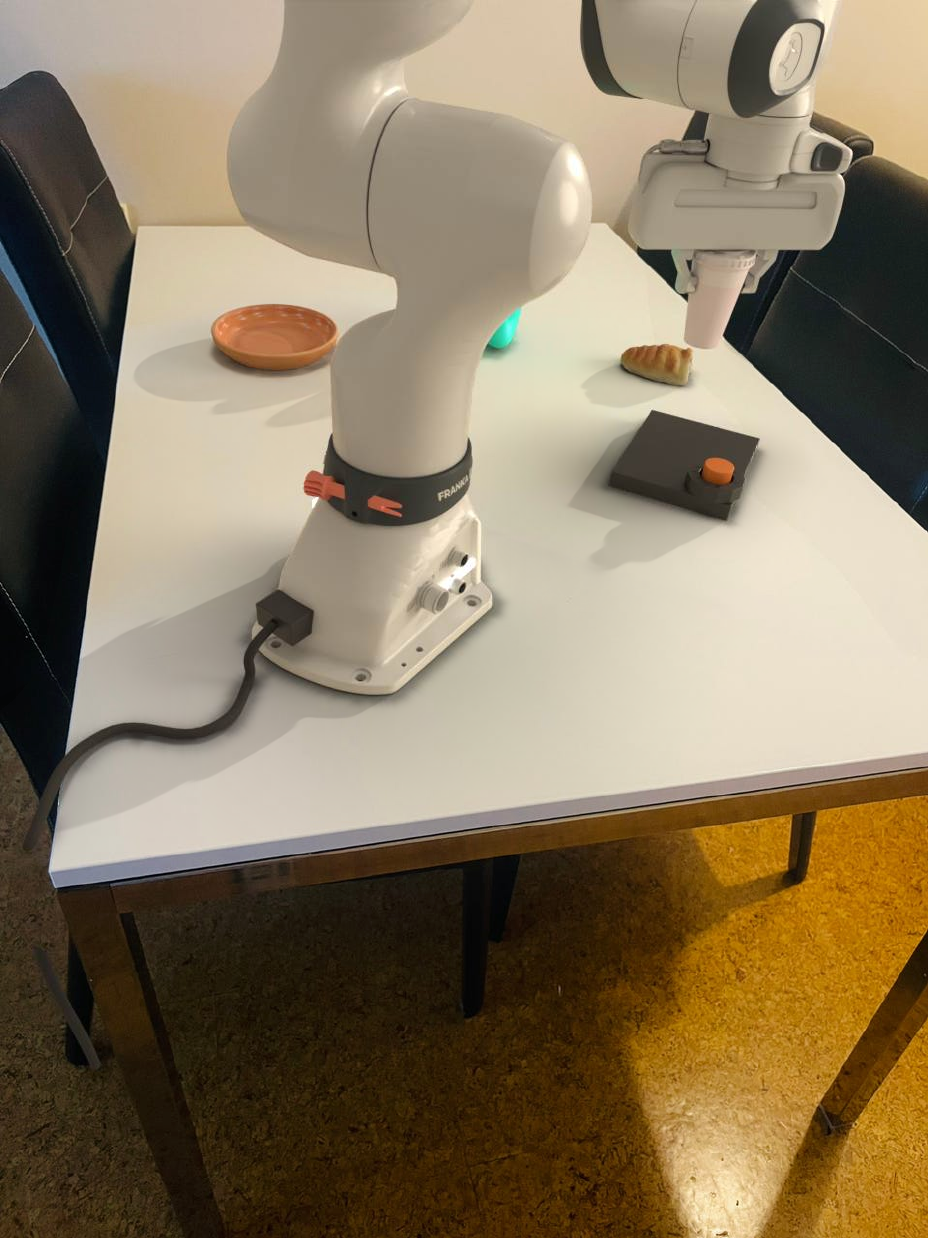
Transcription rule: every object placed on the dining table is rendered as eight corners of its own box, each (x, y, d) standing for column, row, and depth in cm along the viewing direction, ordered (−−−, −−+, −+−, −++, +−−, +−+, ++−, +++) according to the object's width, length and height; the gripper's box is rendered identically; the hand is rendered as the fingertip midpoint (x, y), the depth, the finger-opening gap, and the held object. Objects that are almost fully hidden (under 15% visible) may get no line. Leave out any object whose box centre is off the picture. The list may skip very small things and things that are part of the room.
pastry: (615, 375, 117) (621, 348, 114) (623, 355, 122) (628, 328, 119) (687, 389, 115) (694, 361, 113) (691, 368, 120) (698, 340, 118)
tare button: (726, 488, 92) (730, 475, 91) (698, 480, 92) (702, 467, 91) (733, 475, 94) (736, 462, 93) (705, 467, 95) (708, 454, 94)
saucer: (349, 330, 122) (348, 309, 120) (323, 383, 110) (322, 360, 108) (234, 318, 122) (232, 297, 120) (196, 370, 110) (193, 347, 108)
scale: (729, 524, 92) (738, 496, 90) (607, 488, 96) (612, 460, 94) (759, 453, 104) (768, 426, 101) (648, 423, 107) (654, 397, 105)
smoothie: (732, 358, 91) (772, 216, 82) (670, 349, 92) (702, 207, 83) (730, 333, 96) (768, 195, 87) (671, 325, 97) (702, 187, 88)
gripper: (657, 148, 77) (627, 304, 86) (870, 153, 81) (819, 302, 90) (634, 129, 82) (608, 279, 91) (836, 135, 85) (792, 279, 94)
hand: (715, 291), depth 90 cm, fingers closed on smoothie, 5 cm apart
